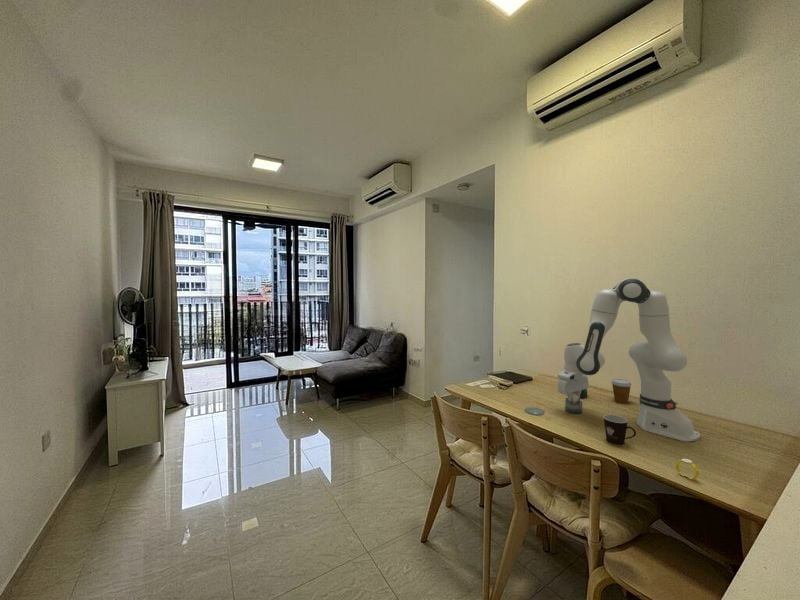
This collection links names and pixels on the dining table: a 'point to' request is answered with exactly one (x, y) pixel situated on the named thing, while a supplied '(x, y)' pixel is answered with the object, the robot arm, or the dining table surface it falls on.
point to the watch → (687, 463)
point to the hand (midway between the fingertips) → (573, 399)
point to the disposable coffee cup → (621, 390)
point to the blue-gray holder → (573, 407)
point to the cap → (574, 397)
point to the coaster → (534, 411)
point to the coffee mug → (616, 429)
